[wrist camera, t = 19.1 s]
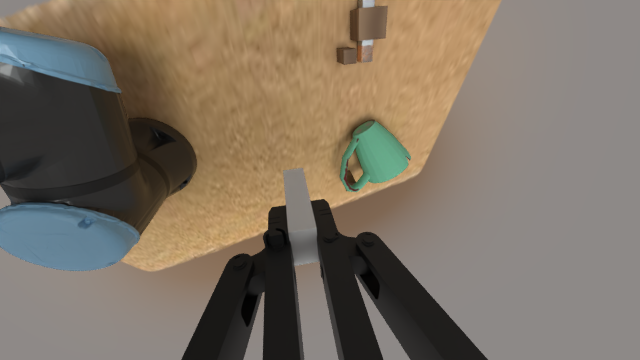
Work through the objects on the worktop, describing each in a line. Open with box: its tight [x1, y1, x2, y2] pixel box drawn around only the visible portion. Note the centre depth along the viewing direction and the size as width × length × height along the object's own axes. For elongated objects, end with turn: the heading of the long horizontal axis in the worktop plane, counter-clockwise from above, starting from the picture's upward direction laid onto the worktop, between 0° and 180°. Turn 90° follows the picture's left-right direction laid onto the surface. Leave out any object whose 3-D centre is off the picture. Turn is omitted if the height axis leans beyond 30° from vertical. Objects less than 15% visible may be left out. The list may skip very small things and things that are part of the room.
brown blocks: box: [337, 6, 388, 191], centre depth 43 cm, size 7×32×5 cm, turn 5°
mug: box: [340, 120, 411, 192], centre depth 46 cm, size 15×10×10 cm
